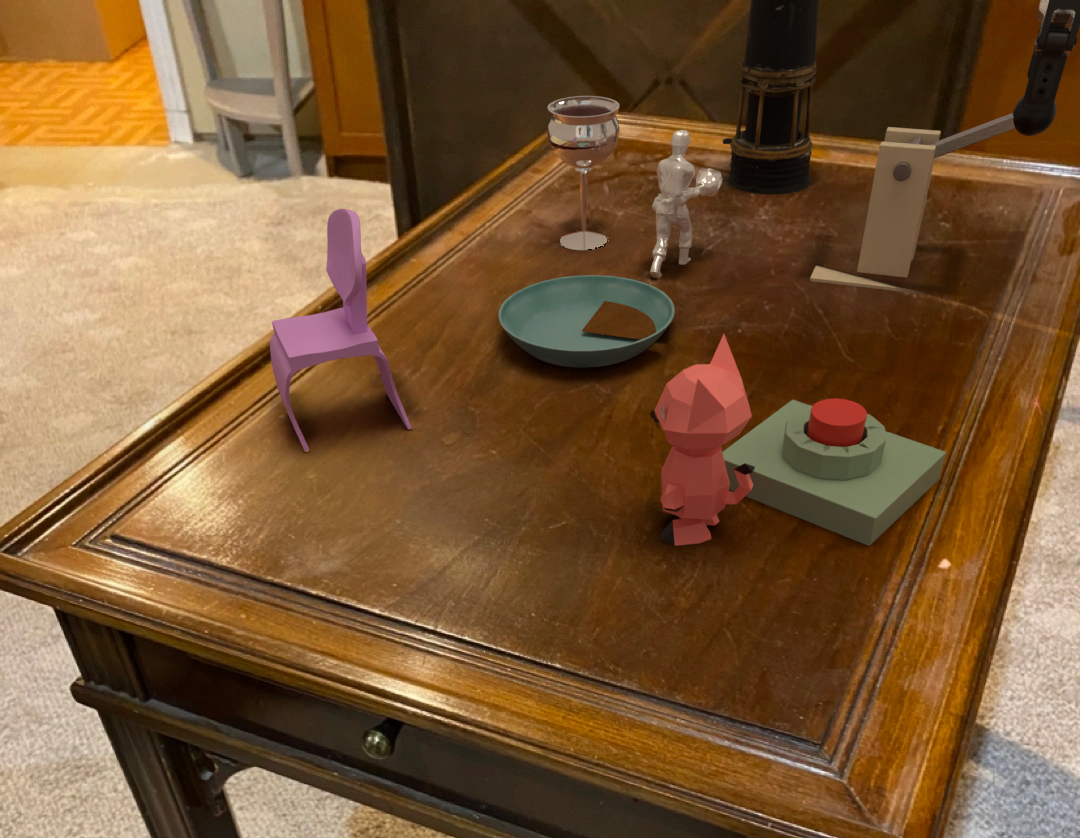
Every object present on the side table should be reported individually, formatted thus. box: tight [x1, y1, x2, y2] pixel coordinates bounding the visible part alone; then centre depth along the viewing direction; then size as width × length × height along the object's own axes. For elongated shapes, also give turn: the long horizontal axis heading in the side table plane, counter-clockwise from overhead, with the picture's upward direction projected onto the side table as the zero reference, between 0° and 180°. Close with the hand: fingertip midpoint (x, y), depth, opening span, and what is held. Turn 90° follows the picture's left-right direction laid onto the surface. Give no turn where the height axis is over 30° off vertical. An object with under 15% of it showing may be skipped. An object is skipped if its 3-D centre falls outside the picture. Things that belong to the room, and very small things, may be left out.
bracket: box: [809, 126, 942, 296], centre depth 92 cm, size 12×9×12 cm
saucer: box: [497, 274, 676, 369], centre depth 89 cm, size 15×15×3 cm
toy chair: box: [269, 208, 413, 452], centre depth 76 cm, size 8×9×15 cm
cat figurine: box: [649, 333, 755, 546], centre depth 65 cm, size 7×7×12 cm
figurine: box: [649, 129, 723, 279], centre depth 95 cm, size 5×9×12 cm, turn 154°
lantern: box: [722, 0, 820, 196], centre depth 103 cm, size 9×9×30 cm
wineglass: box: [546, 95, 621, 251], centre depth 101 cm, size 7×7×12 cm
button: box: [807, 398, 868, 447], centre depth 70 cm, size 4×4×2 cm
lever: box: [905, 95, 1057, 159], centre depth 86 cm, size 13×3×3 cm, turn 69°
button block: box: [722, 399, 947, 547], centre depth 72 cm, size 12×10×4 cm
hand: (1038, 94), depth 83 cm, fingers open, 8 cm apart
